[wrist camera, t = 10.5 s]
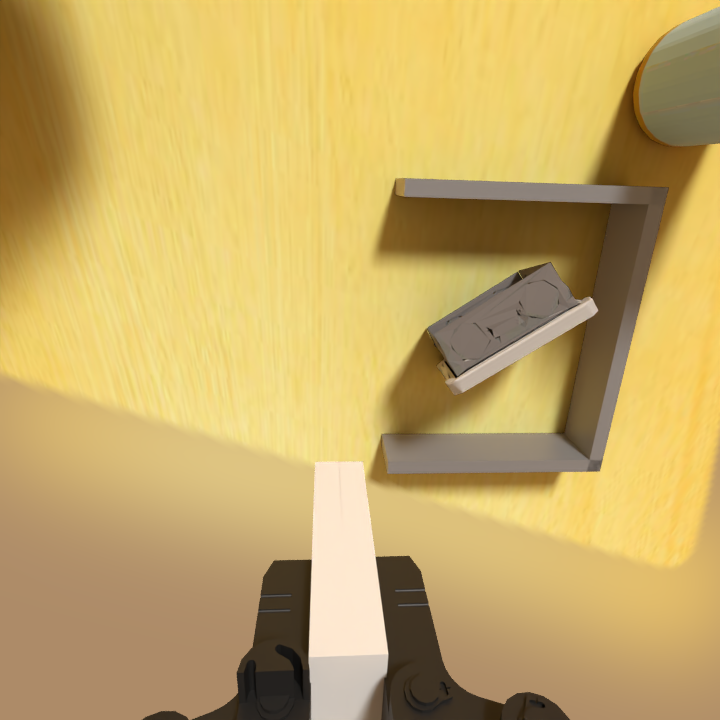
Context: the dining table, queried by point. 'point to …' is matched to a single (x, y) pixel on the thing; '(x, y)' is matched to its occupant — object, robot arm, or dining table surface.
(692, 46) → the bottle
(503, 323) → the electrical switch
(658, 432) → the dining table surface
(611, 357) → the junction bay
